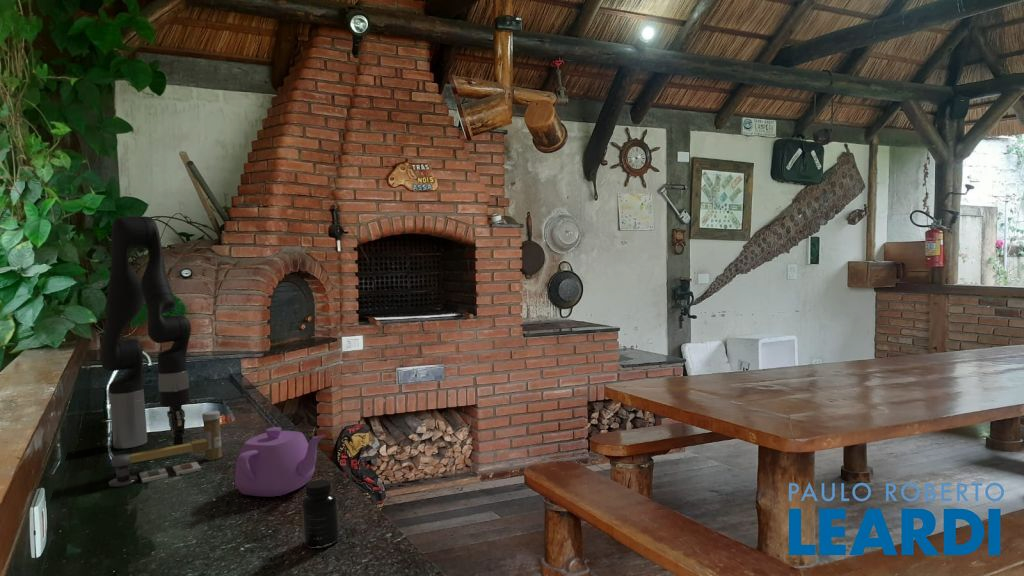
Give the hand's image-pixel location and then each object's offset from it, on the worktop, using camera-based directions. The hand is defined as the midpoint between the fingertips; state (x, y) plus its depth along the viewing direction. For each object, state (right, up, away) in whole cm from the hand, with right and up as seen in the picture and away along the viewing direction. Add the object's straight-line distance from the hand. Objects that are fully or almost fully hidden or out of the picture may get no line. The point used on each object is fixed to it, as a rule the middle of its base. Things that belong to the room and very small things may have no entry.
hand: (178, 448), depth 182 cm
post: (-8, -6, -13) cm, 16 cm away
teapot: (+36, -5, -21) cm, 42 cm away
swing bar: (-1, 0, -8) cm, 8 cm away
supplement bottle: (+56, -6, -53) cm, 77 cm away
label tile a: (-2, -5, -9) cm, 11 cm away
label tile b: (+4, -5, -4) cm, 8 cm away
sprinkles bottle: (+8, -4, +5) cm, 10 cm away
